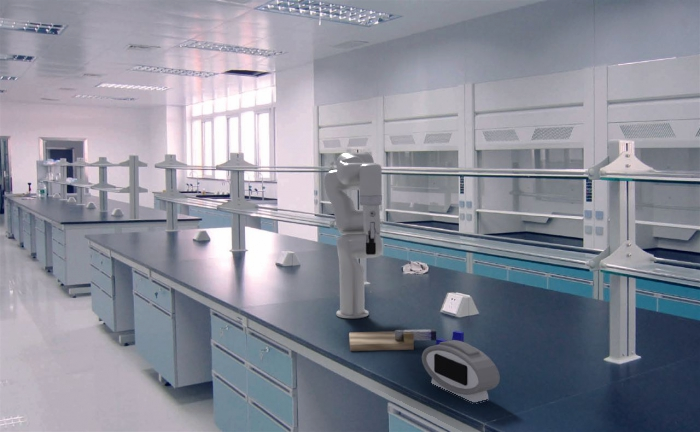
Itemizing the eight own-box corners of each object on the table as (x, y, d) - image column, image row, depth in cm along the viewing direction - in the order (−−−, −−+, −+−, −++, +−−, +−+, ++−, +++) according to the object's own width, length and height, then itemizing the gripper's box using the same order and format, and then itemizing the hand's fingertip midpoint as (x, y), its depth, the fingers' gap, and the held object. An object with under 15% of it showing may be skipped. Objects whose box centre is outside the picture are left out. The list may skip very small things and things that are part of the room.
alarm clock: (421, 380, 166) (421, 334, 165) (439, 376, 169) (439, 331, 168) (480, 409, 146) (480, 357, 145) (499, 404, 150) (500, 352, 149)
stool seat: (349, 338, 208) (349, 323, 207) (408, 337, 208) (408, 322, 208) (350, 350, 194) (350, 335, 193) (413, 349, 194) (413, 333, 194)
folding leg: (395, 341, 195) (395, 332, 195) (394, 338, 199) (394, 329, 198) (436, 340, 195) (436, 331, 195) (435, 337, 198) (434, 328, 198)
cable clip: (449, 361, 182) (449, 342, 182) (436, 359, 185) (436, 339, 184) (468, 351, 192) (468, 332, 191) (455, 349, 194) (455, 330, 194)
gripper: (384, 202, 202) (384, 257, 204) (378, 198, 216) (378, 250, 218) (361, 202, 201) (362, 258, 203) (357, 198, 216) (357, 250, 218)
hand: (370, 254), depth 211 cm, fingers closed
